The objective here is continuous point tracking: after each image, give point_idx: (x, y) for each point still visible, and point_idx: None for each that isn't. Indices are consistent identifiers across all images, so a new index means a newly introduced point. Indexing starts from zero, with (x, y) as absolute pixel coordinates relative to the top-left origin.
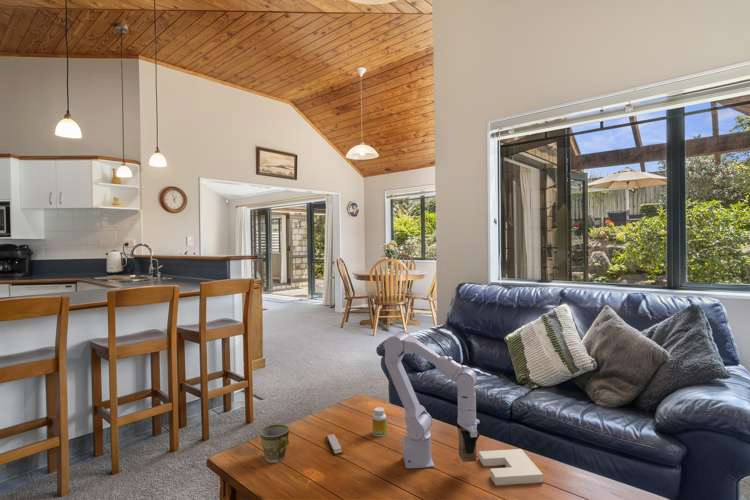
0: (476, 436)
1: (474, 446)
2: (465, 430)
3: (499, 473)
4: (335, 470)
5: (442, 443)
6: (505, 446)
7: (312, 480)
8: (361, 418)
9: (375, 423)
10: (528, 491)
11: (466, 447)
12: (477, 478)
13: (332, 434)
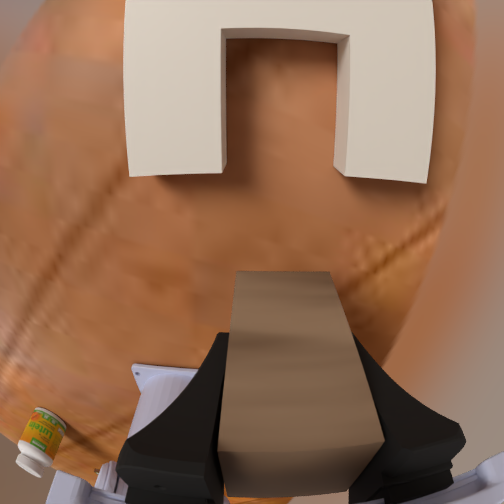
0: (501, 458)
1: (378, 365)
2: (290, 483)
3: (402, 144)
4: (224, 488)
5: (39, 294)
6: (48, 7)
7: (254, 500)
8: (7, 416)
9: (55, 454)
10: (463, 55)
11: None
12: (335, 234)
13: (95, 472)
